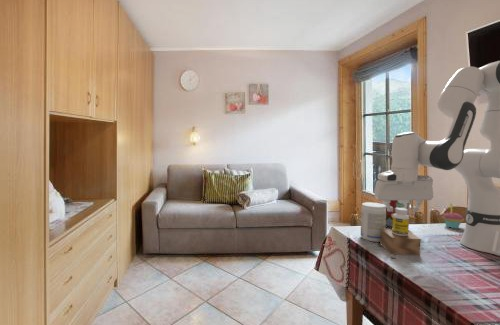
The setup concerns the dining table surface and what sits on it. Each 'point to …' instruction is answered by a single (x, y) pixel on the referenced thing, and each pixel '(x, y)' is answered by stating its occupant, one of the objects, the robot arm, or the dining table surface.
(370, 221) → the supplement tub
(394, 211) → the juice carton
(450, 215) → the cupcake
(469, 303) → the dining table surface
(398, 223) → the supplement bottle
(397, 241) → the walnut block
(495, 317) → the dining table surface
